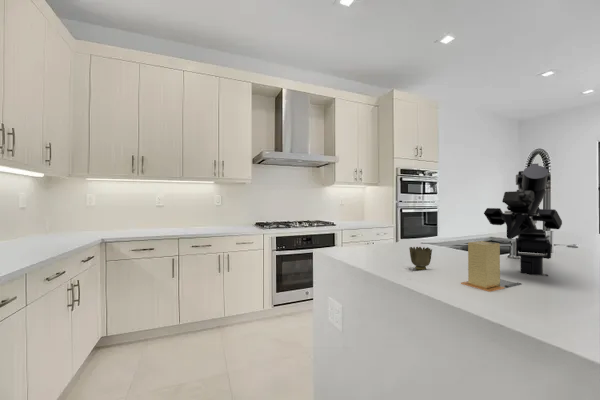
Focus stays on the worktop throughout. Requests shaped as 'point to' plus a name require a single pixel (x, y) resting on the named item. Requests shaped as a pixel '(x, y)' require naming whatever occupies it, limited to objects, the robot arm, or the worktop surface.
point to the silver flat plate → (503, 285)
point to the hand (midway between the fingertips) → (508, 238)
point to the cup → (420, 257)
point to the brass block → (484, 264)
